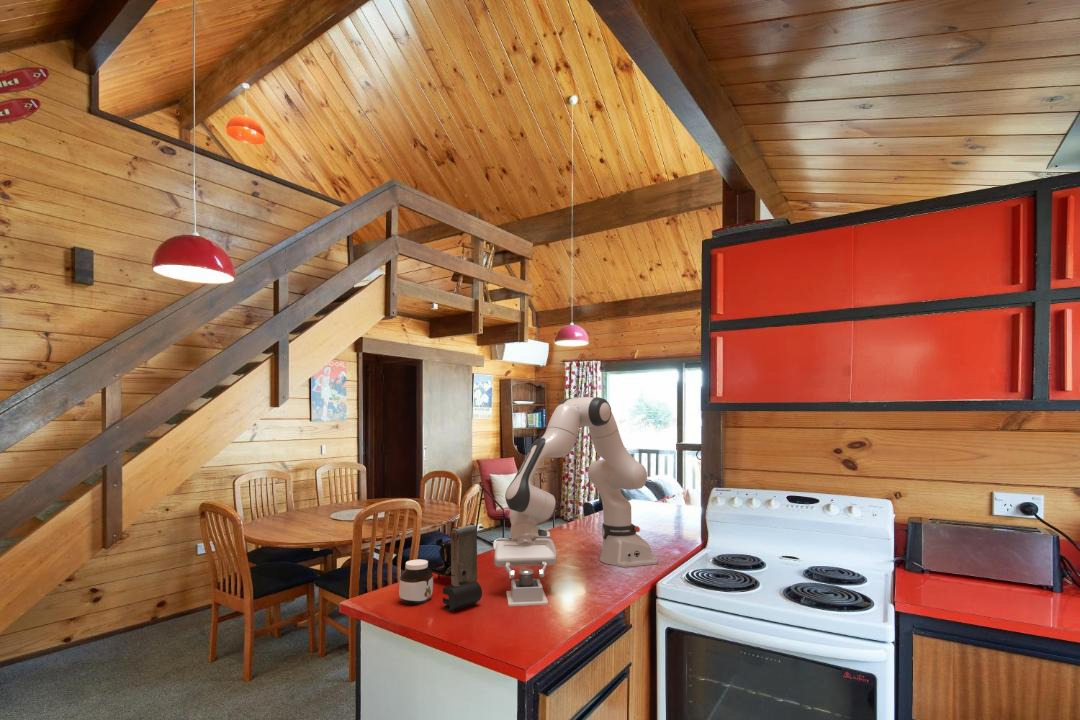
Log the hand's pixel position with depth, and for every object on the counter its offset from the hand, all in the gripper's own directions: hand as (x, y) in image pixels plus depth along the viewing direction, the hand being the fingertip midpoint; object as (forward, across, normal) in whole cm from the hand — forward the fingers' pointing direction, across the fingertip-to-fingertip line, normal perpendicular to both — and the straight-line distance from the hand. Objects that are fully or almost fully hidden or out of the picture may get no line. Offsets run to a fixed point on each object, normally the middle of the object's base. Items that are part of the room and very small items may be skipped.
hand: (526, 577), depth 169 cm
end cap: (+8, -20, +2) cm, 22 cm away
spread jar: (+2, -35, +8) cm, 36 cm away
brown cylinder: (+4, 0, +5) cm, 6 cm away
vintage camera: (-9, -24, +19) cm, 32 cm away
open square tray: (+4, 0, +5) cm, 7 cm away
